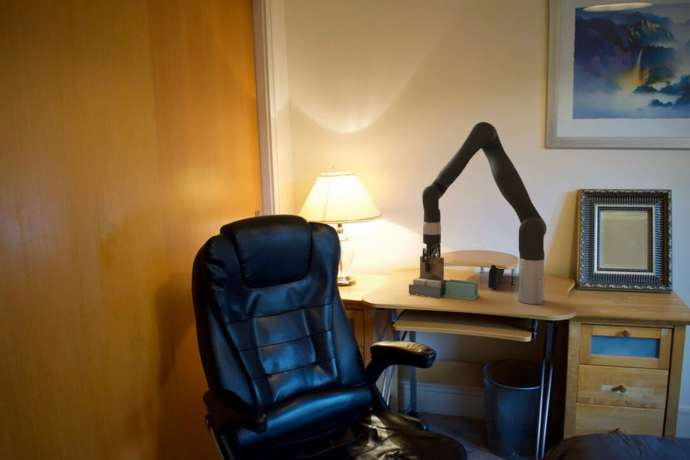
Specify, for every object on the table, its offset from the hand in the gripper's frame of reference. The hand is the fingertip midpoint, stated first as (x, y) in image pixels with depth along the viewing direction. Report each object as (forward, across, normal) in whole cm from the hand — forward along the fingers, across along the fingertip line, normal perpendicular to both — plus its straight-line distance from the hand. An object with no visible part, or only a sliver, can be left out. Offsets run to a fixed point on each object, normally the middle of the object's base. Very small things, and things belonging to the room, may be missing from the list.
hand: (431, 269), depth 221 cm
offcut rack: (+9, -4, 0) cm, 10 cm away
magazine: (+10, +28, -20) cm, 36 cm away
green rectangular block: (+9, -2, -14) cm, 17 cm away
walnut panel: (+8, 0, 0) cm, 8 cm away
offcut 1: (+8, -5, +3) cm, 10 cm away
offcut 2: (+8, -5, -3) cm, 10 cm away
